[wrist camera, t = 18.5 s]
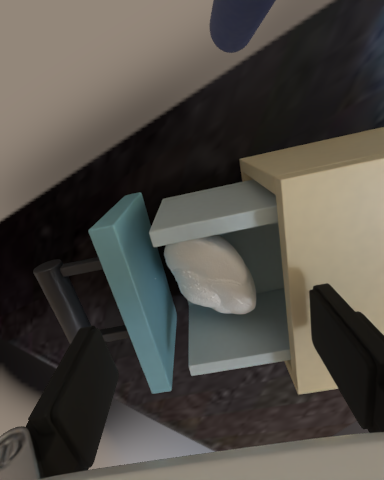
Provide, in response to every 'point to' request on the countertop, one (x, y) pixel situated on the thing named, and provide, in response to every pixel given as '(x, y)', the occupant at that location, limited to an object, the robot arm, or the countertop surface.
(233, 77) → the countertop surface
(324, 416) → the countertop surface
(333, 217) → the cabinet
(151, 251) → the drawer
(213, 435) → the countertop surface
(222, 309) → the dumpling
